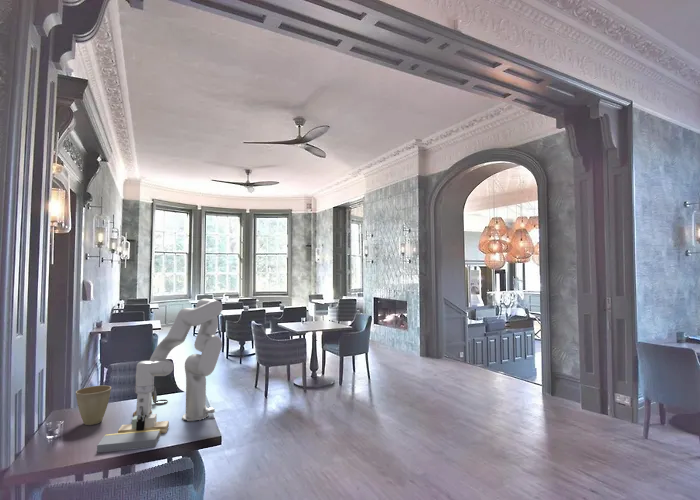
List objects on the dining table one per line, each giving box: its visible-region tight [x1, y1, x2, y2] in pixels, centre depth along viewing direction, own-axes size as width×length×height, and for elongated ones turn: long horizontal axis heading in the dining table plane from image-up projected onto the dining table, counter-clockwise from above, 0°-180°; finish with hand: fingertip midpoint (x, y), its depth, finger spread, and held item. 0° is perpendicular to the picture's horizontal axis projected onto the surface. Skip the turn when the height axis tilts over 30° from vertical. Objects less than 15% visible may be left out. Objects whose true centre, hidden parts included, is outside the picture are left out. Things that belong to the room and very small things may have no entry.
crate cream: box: [145, 413, 158, 427], centre depth 190 cm, size 4×5×4 cm
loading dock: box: [96, 429, 161, 453], centre depth 177 cm, size 22×11×3 cm, turn 105°
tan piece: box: [117, 420, 170, 435], centre depth 189 cm, size 20×7×4 cm, turn 105°
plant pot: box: [75, 385, 112, 426], centre depth 202 cm, size 15×15×16 cm
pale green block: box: [131, 416, 143, 429], centre depth 189 cm, size 4×5×4 cm
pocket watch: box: [152, 386, 168, 405], centre depth 230 cm, size 8×8×10 cm
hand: (142, 426), depth 189 cm, fingers open, 9 cm apart
